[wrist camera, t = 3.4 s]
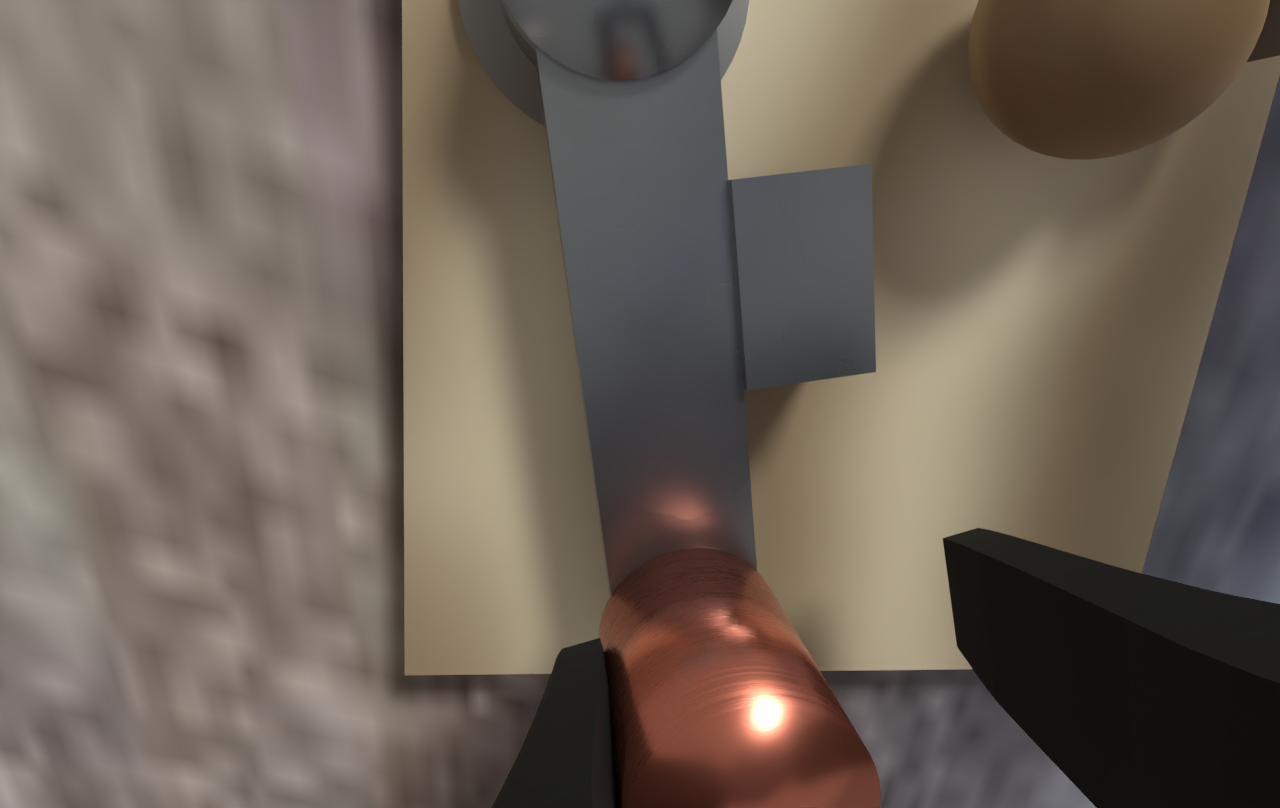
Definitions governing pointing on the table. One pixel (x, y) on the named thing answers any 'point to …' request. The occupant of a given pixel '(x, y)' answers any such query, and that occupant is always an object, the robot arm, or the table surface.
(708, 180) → the lever
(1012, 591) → the robot arm
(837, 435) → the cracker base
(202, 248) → the table surface
